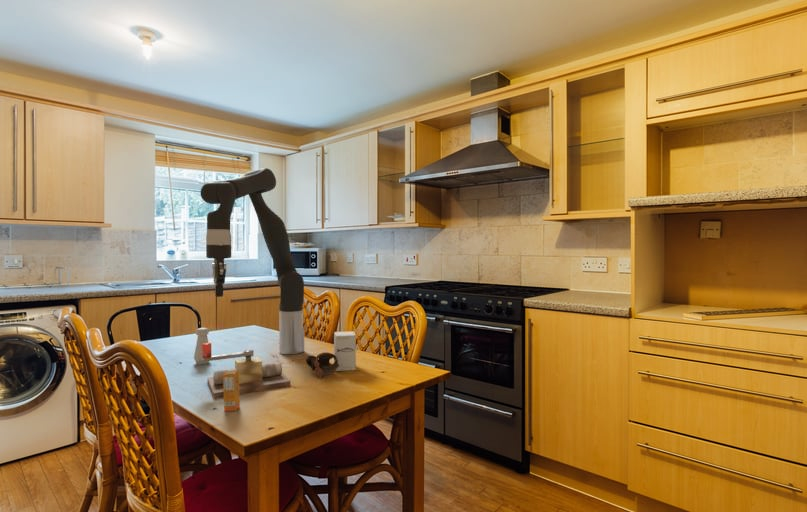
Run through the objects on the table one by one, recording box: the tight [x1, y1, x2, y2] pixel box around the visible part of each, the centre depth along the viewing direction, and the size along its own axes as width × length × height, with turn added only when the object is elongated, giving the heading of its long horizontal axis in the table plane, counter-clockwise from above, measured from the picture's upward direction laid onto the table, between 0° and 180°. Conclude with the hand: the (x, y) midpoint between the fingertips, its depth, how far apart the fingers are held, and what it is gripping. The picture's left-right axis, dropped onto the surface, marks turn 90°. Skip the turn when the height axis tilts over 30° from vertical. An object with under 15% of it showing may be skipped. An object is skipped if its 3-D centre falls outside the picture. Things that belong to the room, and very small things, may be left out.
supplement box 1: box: [223, 371, 241, 412], centre depth 113 cm, size 3×4×10 cm
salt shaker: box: [193, 327, 210, 365], centre depth 157 cm, size 6×6×13 cm
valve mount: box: [206, 356, 291, 399], centre depth 134 cm, size 22×16×9 cm
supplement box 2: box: [333, 331, 357, 372], centre depth 152 cm, size 7×7×13 cm
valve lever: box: [202, 342, 255, 362], centre depth 131 cm, size 15×3×5 cm, turn 121°
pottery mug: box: [305, 351, 339, 379], centre depth 145 cm, size 12×10×8 cm
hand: (219, 296), depth 139 cm, fingers closed
